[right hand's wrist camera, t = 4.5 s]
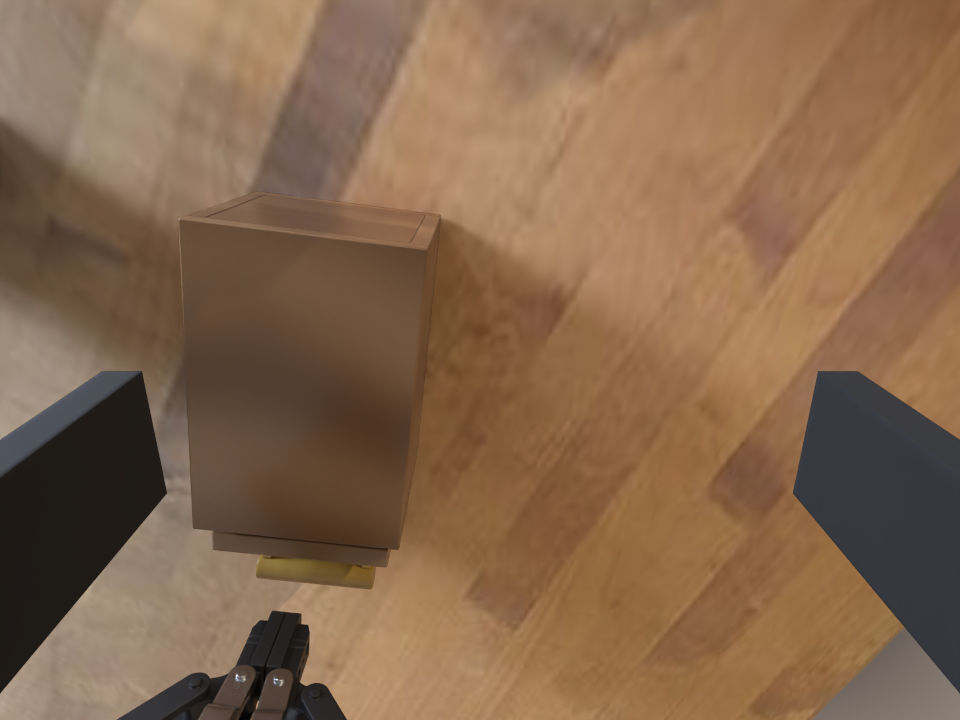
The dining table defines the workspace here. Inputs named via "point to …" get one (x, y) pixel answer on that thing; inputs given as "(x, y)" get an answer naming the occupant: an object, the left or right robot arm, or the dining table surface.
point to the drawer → (307, 559)
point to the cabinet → (305, 365)
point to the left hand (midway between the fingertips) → (287, 624)
